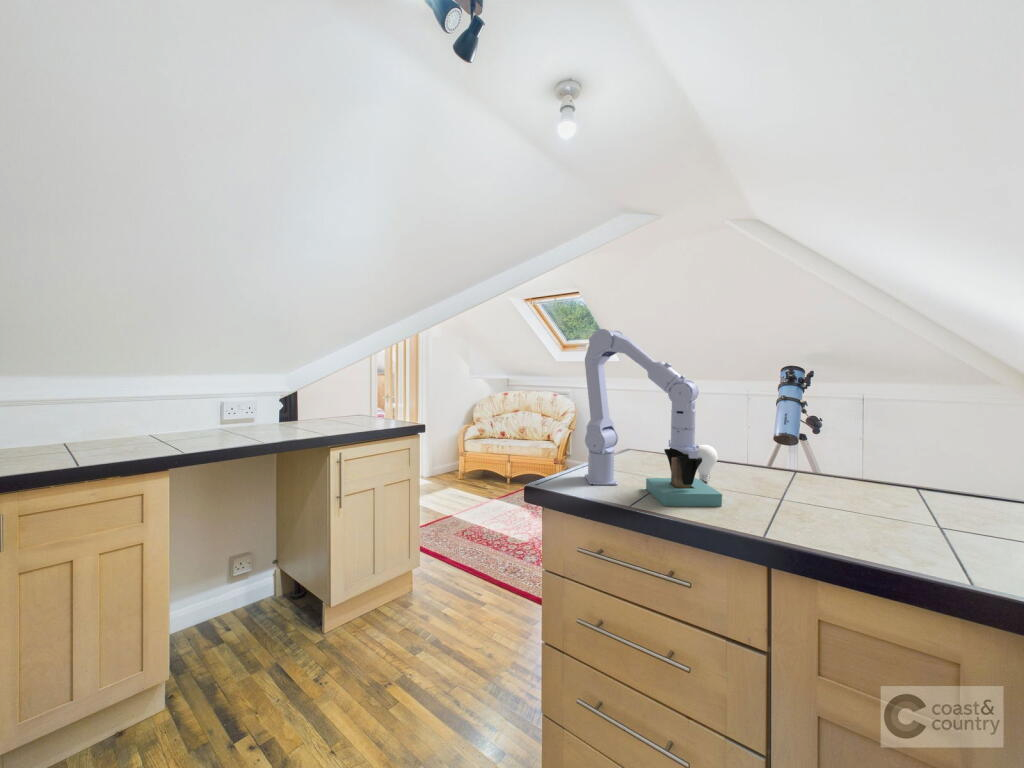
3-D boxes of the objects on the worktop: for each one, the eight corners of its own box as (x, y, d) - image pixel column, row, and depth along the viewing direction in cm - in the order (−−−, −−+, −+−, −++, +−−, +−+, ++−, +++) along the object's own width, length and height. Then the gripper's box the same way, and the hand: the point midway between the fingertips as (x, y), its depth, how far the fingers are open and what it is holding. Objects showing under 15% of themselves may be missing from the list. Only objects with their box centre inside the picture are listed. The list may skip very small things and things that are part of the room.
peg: (670, 494, 110) (671, 457, 110) (684, 495, 110) (685, 457, 110) (675, 499, 107) (676, 460, 106) (689, 499, 107) (690, 460, 106)
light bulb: (711, 479, 125) (712, 442, 125) (720, 485, 119) (721, 447, 118) (688, 478, 126) (689, 442, 125) (696, 485, 119) (697, 446, 119)
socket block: (646, 488, 116) (646, 478, 116) (697, 489, 115) (697, 478, 115) (663, 505, 102) (663, 493, 102) (721, 506, 101) (722, 494, 101)
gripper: (711, 432, 100) (710, 488, 101) (687, 423, 115) (686, 472, 116) (681, 432, 101) (680, 488, 101) (661, 423, 115) (660, 472, 116)
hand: (681, 480), depth 108 cm, fingers open, 7 cm apart
